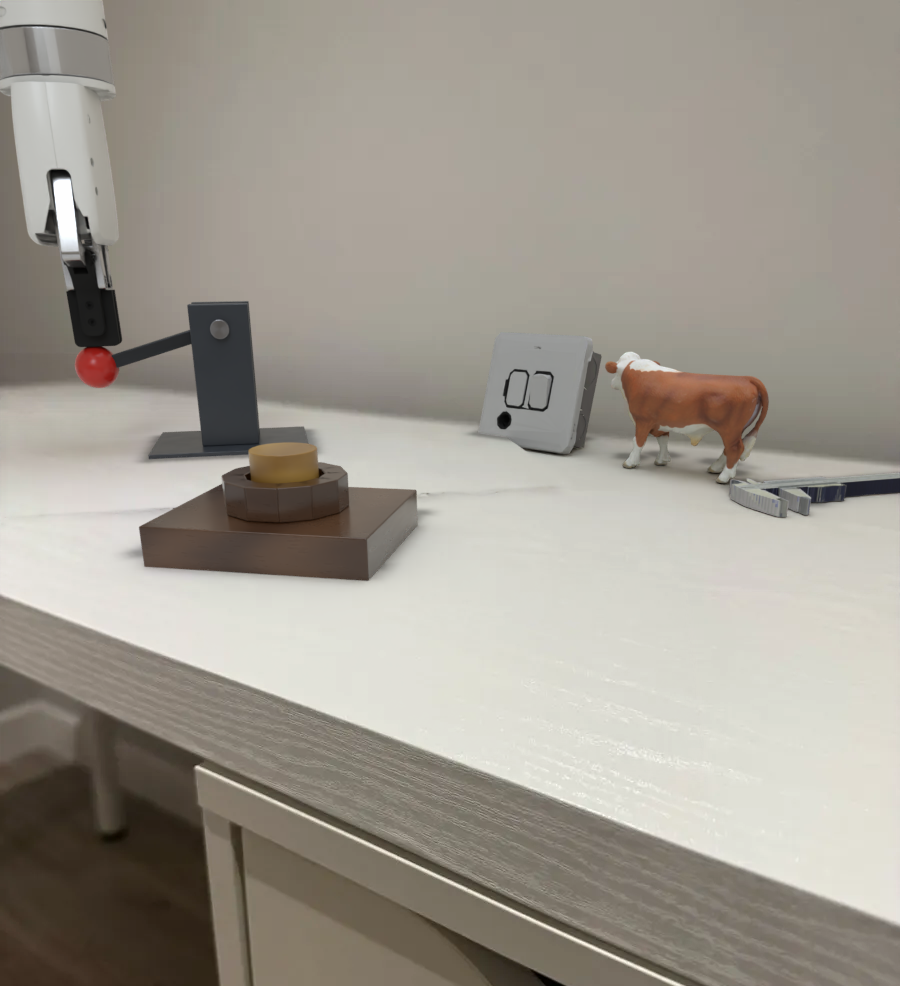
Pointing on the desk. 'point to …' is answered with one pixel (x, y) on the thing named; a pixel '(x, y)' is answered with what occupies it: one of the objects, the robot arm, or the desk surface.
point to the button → (283, 462)
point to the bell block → (283, 527)
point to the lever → (121, 359)
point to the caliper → (808, 491)
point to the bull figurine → (689, 409)
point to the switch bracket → (223, 388)
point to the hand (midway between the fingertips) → (99, 345)
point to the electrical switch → (540, 390)
